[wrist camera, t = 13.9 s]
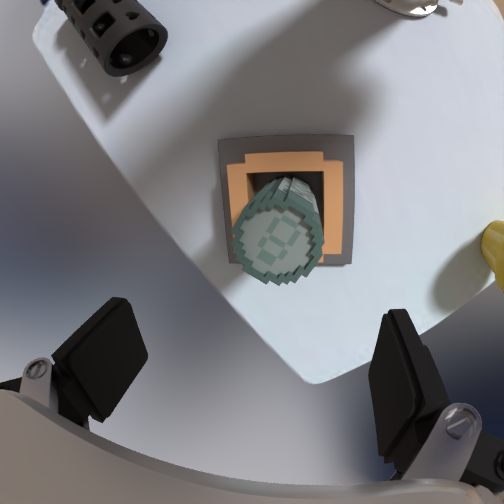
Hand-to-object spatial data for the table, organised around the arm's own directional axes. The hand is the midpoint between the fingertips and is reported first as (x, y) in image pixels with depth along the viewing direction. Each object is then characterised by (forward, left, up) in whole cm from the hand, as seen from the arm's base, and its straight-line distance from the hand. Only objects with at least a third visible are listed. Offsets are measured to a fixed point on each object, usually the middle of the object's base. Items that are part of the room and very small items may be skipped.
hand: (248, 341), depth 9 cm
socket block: (0, 0, -26) cm, 26 cm away
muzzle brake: (+24, -33, -26) cm, 48 cm away
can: (0, 0, -25) cm, 25 cm away
